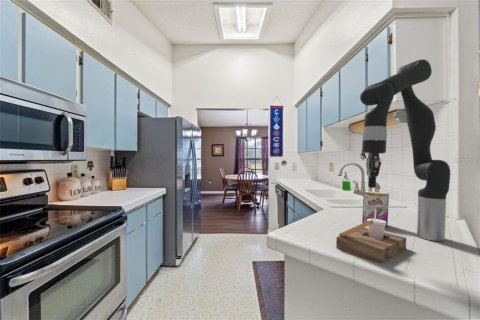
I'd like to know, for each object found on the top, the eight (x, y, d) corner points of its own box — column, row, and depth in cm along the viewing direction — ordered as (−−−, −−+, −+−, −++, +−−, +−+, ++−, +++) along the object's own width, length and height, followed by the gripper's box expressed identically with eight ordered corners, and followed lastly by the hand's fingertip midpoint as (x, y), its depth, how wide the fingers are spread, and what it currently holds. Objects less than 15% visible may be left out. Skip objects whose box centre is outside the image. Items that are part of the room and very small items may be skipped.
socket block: (364, 237, 98) (364, 227, 98) (406, 248, 86) (406, 237, 86) (336, 247, 85) (336, 236, 85) (380, 263, 73) (381, 250, 73)
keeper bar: (344, 235, 87) (342, 232, 87) (374, 223, 78) (372, 219, 79) (340, 237, 85) (338, 234, 85) (370, 224, 77) (368, 220, 77)
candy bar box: (362, 223, 119) (363, 191, 119) (363, 221, 123) (363, 190, 123) (388, 227, 113) (388, 193, 113) (388, 225, 117) (388, 192, 117)
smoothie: (362, 243, 90) (363, 207, 90) (378, 243, 91) (379, 207, 91) (373, 249, 84) (374, 211, 84) (390, 249, 84) (391, 211, 84)
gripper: (359, 141, 92) (357, 185, 92) (366, 137, 79) (363, 188, 79) (381, 141, 89) (379, 186, 89) (391, 138, 77) (388, 190, 77)
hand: (371, 187), depth 84 cm, fingers closed
